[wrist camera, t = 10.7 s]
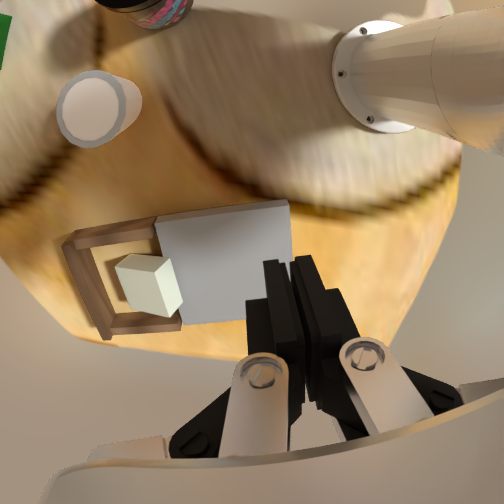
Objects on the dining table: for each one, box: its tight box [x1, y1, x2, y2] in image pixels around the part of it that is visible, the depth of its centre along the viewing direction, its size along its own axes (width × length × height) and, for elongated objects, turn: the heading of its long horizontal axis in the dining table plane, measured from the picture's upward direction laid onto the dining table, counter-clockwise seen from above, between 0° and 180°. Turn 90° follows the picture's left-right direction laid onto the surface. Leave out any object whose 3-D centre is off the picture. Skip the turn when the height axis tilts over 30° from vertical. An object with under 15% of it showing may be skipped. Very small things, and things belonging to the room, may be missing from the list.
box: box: [61, 217, 182, 340], centre depth 36 cm, size 11×14×4 cm
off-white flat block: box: [115, 254, 183, 318], centre depth 35 cm, size 6×6×3 cm
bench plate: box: [154, 199, 293, 325], centre depth 36 cm, size 14×14×2 cm
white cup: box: [57, 70, 142, 148], centre depth 25 cm, size 7×7×7 cm
